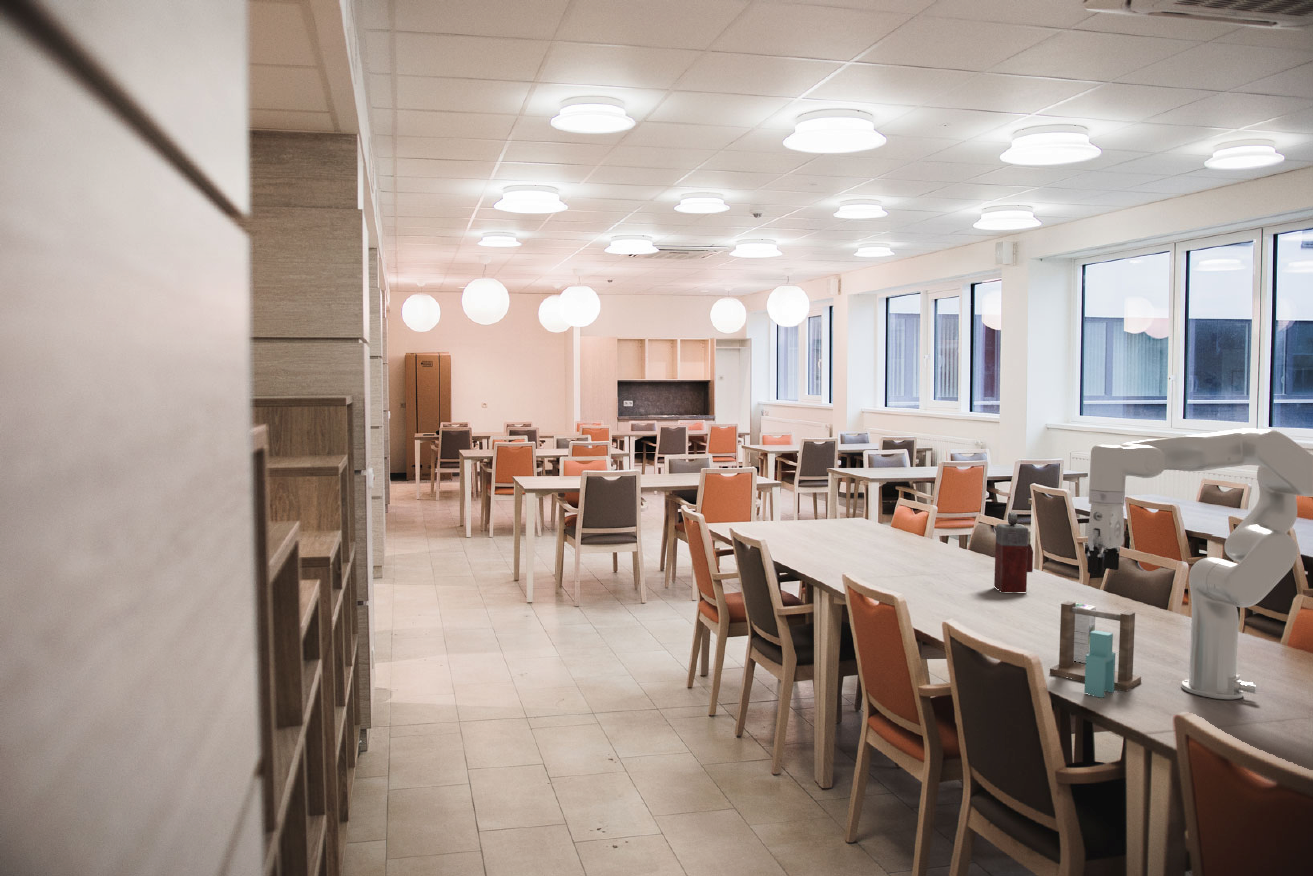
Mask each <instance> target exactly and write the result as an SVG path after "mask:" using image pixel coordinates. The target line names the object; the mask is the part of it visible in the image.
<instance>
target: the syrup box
mask: <svg viewBox="0 0 1313 876" xmlns="http://www.w3.org/2000/svg"><path fill="white" fill-rule="evenodd" d="M1075 603H1076V607H1077V608H1083V609H1089V610H1095V611H1097V607H1096V606H1095V605H1090V604H1086V603H1081V602H1075ZM1096 618H1097V617H1093V616H1087V615H1082V614H1076V613H1075V634H1074V661H1076V662H1075V663H1079V662H1081V663H1080V664H1085V663H1086V655H1087V654H1089V653H1090V632H1092V631H1094V630H1096ZM1074 661H1073V662H1074Z"/></svg>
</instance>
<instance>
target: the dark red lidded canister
mask: <svg viewBox="0 0 1313 876" xmlns="http://www.w3.org/2000/svg"><path fill="white" fill-rule="evenodd" d="M1017 522H1018V514H1017V513H1016V512H1008V514H1007V523H998V524H997V523H996V526H995V548H994V549H995V551H994V552H995V553H994V554H995V555H994V578H993V579H994V580H993V581H994V582H993V583H994V584H993V585H994V586H995V587H996V588H997V589H999V591H1001V592H1026V593H1027V585H1028V573H1033V569H1034V568H1033V567H1034V565H1033V564H1034V563H1033V562H1034V550H1033V547H1032V544H1031V543H1029V528H1028V527H1026V526H1024V525H1022V524H1017ZM999 591H998V592H999Z"/></svg>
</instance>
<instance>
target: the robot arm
mask: <svg viewBox="0 0 1313 876" xmlns="http://www.w3.org/2000/svg"><path fill="white" fill-rule="evenodd" d="M1089 463H1090V468H1089V488H1088V504H1090V510H1089V519H1088V520H1089V521H1088V529H1087V530H1088V531H1087V541H1086V542H1087V550H1088V551H1087V573H1088V574H1092V575H1103V573H1104V569H1107V570H1113V571H1118V570H1119V569H1120V568H1119V567H1120V552H1121V546H1123V545H1124V543H1125V540H1124V539H1125V514H1124V513H1125V512H1124V506H1125V501H1126V500H1125V499H1126V497H1125V496H1126V477H1135V478H1140V479H1141V478H1143V479H1151V478H1155V477H1157V476H1159V475H1161V474H1162V473H1163V472H1164V471H1181V472H1182V471H1183V472H1206V471H1211V470H1212V471H1214V470H1217V469H1225V468H1234V467H1235V468H1236V467H1241V466H1242V467H1243V466H1257V467H1258V468H1257V470H1256V478H1257V479H1256V480H1257V484H1258V488H1259V489H1258V490H1259V493H1258V495H1259V496H1258V500H1257V503H1256V505H1255V506H1254V507H1253V509H1252V510H1251V511H1250V512H1249V513H1248V515H1246V517H1245V518H1244V519H1243V520H1242V521H1241V522H1239V524H1238V525H1237V526H1236V528H1234V529H1233V530H1232V531H1231V533H1230V534H1229V535H1228V536H1227V538H1226V540H1225V542H1224V546H1223V547H1224V552H1225V554H1226V555H1227V557H1228V558H1230V559H1231V560H1232V561H1231V560H1227V559H1223V558H1220V557H1210V556H1209V557H1204V558H1201V559H1199V560H1197V561H1196V562H1195V563H1193V565H1192V566H1191V568H1190V570H1189V574H1188V584H1189V585H1188V586H1189V593H1190V598H1191V627H1190V647H1189V648H1190V650H1189V651H1190V652H1189V672H1188V679H1184V680H1182V681H1181V685H1180V687H1181V688H1182V689H1183V690H1184V691H1185V692H1188V693H1190V694H1192V695H1197V696H1199V697H1205V698H1210V699H1217V700H1238V699H1241V698H1243V697H1244V692H1246V693H1248V694H1254V695H1256V694H1257V692H1258V685H1256V684H1254V683H1253V682H1247V681H1243V679H1242V680H1241V675H1240V674H1237V666H1238V665H1237V664H1238V645H1239V629H1240V628H1239V627H1240V626H1239V621H1240V620H1239V619H1240V618H1239V613H1238V608H1250V607H1252V606H1254V605H1256V604H1258V603H1259V602H1261V601H1262V600H1263V599H1264V598H1265V597H1266V596H1267V595H1268V594H1269V593H1270V592H1271V591H1272V590H1273V589H1274V587H1276V586H1277V585H1278V584H1279V582H1281V580H1282V579H1283V578H1285V576H1286V575H1287V574H1288V573H1289V572H1290V571H1291V569H1292V567H1293V566H1294V565H1295V563H1296V560H1297V558H1298V557H1297V555H1298V546H1297V543H1296V542H1295V540H1294V539H1293V537H1292V536H1291V535H1290V534H1288V532H1289V531H1290V530H1291V529H1292V527H1293V526H1294V524H1295V523H1296V521H1297V518H1298V503H1297V502H1298V501H1297V496H1302V497H1313V454H1312V453H1311V452H1309V451H1308V450H1306V449H1305V448H1304V447H1303V446H1301V445H1300V444H1298V443H1297V442H1296V441H1294V440H1293V439H1291V438H1290V437H1289V436H1287V435H1285V434H1283V433H1282V432H1279V431H1277V430H1274V429H1265V428H1263V429H1262V428H1239V429H1232V430H1223V431H1217V432H1210V433H1209V432H1208V433H1200V434H1192V435H1182V436H1176V437H1168V438H1167V437H1165V438H1156V439H1154V438H1153V439H1145V440H1139V441H1131V442H1125V443H1120V444H1118V445H1114V444H1097V445H1094V446H1093V447H1092V448H1091V449H1090V462H1089ZM1103 553H1104V554H1103ZM1103 555H1104V556H1103ZM1102 556H1103V557H1102ZM1237 607H1238V608H1237Z"/></svg>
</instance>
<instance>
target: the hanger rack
mask: <svg viewBox="0 0 1313 876" xmlns="http://www.w3.org/2000/svg"><path fill="white" fill-rule="evenodd" d="M1076 603H1077V602H1073V601H1064V602H1062V603H1061V604H1060V624H1059V625H1060V626H1059V627H1060V629H1059V654H1058V657H1059V658H1058V664H1057V665H1054V666H1052V667H1050V668H1049V675H1050V674H1052V675H1051V676H1054V675H1056V676H1055V677H1059V676H1060V678H1063V677H1068V678H1072V679H1071V680H1073V679H1075V680H1074V681H1077V680H1079V681H1078V682H1082V681H1085V665H1086V664H1084V663H1079V662H1074V634H1075V613H1076V614H1082V615H1087V616H1093V617H1096V618H1100V619H1107V620H1112V621H1117V622H1119V640H1118V641H1119V642H1118V667H1117V668H1118V670H1117V671H1116V670H1115V679H1114V690H1118V689H1120V690H1119V691H1122V690H1124V691H1123V692H1128V691H1129V689H1130V690H1131V689H1133V688H1134V686H1135V685H1136V686H1138V685H1140V684H1141V683H1142V676H1140V675H1135V674H1133V673H1134V653H1135V652H1134V649H1135V648H1134V647H1135V627H1136V625H1135V623H1136V612H1134V611H1129V610H1126V611H1122V612H1121V613H1120V614H1118V613H1113V612H1112V613H1111V612H1106V611H1099V610H1096V611H1095V610H1089V609H1083V608H1077V607H1076ZM1068 678H1067V679H1068ZM1140 682H1141V683H1140ZM1139 683H1140V684H1139ZM1136 686H1135V687H1136ZM1132 687H1133V688H1132ZM1127 690H1128V691H1127Z"/></svg>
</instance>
